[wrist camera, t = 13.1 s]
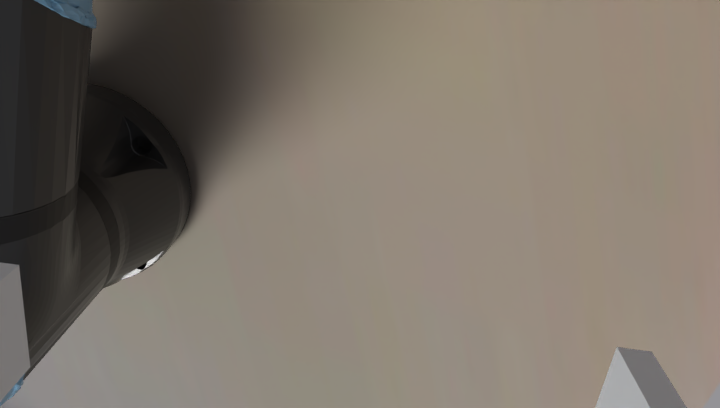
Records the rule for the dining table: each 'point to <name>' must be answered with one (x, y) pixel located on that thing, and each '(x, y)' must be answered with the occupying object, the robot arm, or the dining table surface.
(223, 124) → the dining table surface
